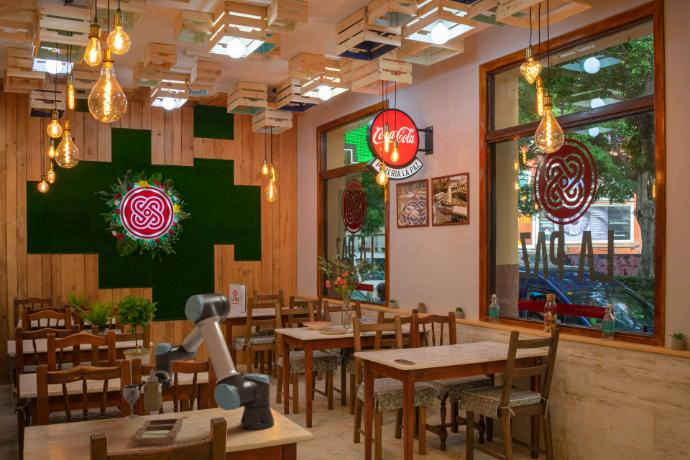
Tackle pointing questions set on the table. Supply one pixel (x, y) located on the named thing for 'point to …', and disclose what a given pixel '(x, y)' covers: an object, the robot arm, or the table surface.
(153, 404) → the squeeze bottle
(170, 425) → the board
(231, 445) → the table surface
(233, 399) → the robot arm
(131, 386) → the wine glass
